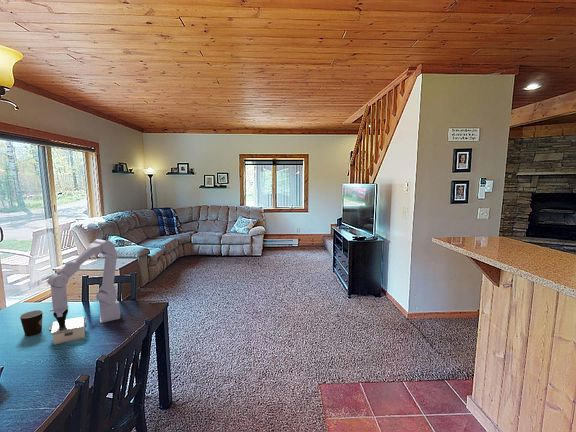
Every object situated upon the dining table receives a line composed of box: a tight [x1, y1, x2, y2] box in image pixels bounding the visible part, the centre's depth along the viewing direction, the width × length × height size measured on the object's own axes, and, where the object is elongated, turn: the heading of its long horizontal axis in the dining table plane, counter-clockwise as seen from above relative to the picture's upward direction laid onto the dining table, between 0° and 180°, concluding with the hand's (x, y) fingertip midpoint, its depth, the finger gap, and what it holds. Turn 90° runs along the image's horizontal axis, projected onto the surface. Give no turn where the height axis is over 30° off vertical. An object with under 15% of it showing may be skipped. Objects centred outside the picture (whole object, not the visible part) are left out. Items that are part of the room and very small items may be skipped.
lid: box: [48, 316, 85, 335], centre depth 147 cm, size 14×12×1 cm
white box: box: [52, 316, 87, 346], centre depth 148 cm, size 13×15×5 cm
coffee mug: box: [19, 309, 44, 337], centre depth 151 cm, size 12×9×10 cm
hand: (62, 325), depth 146 cm, fingers closed, pressing on lid
